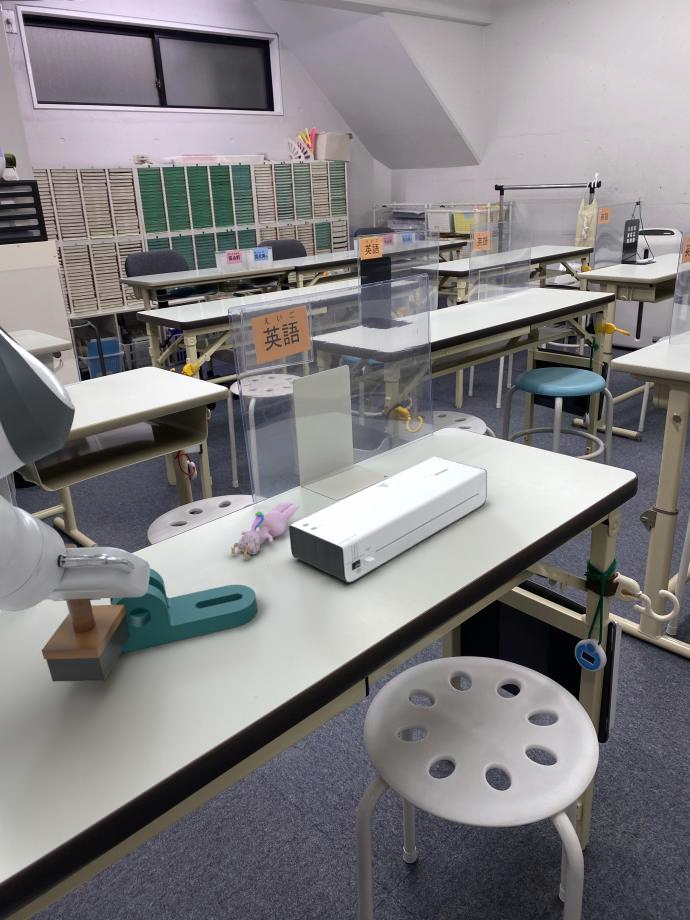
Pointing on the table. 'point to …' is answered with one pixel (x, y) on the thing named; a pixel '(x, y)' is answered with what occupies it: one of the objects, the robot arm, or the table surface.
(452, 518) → the laminator
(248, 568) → the table surface
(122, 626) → the hand brush
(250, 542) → the rabbit figure
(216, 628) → the bracket
